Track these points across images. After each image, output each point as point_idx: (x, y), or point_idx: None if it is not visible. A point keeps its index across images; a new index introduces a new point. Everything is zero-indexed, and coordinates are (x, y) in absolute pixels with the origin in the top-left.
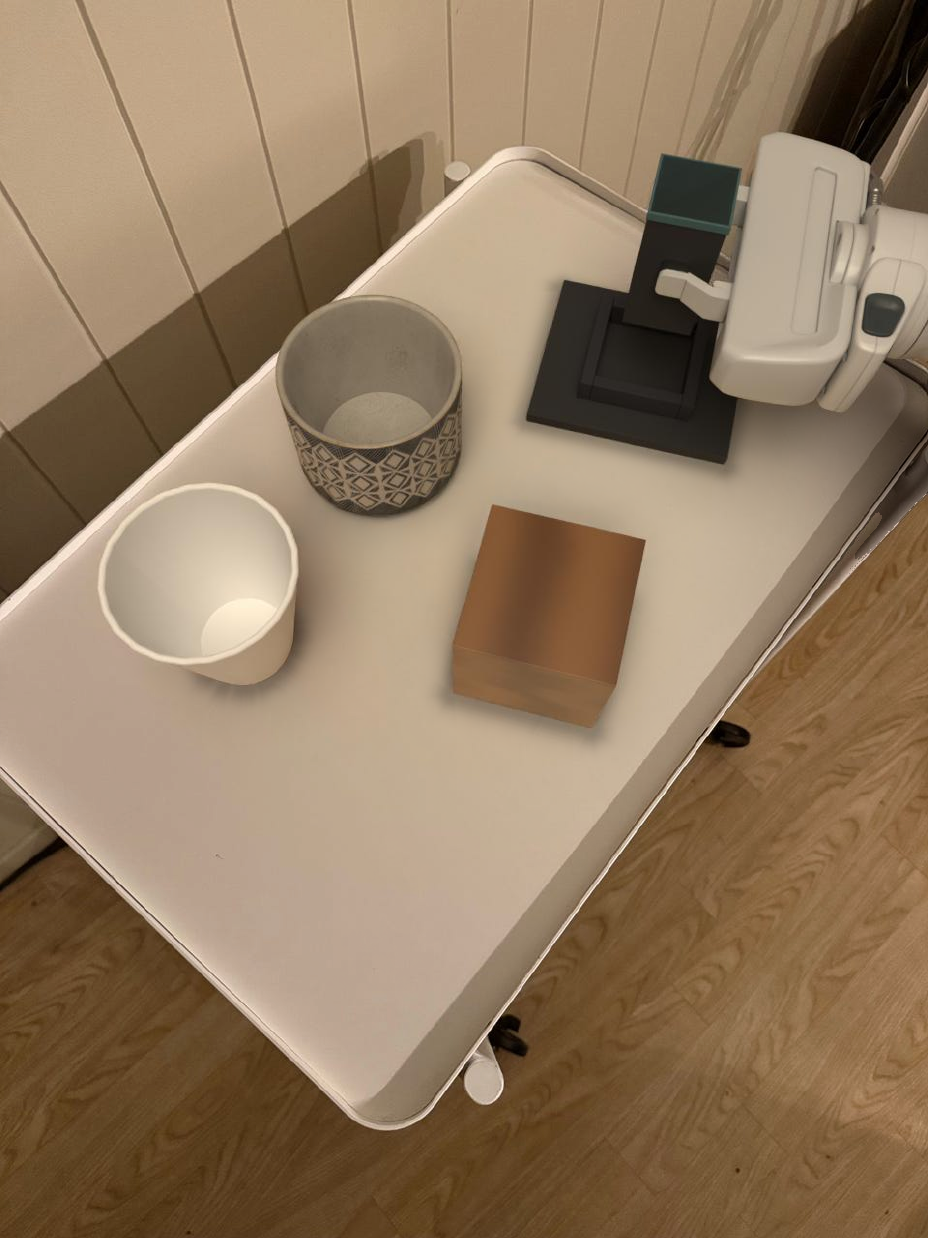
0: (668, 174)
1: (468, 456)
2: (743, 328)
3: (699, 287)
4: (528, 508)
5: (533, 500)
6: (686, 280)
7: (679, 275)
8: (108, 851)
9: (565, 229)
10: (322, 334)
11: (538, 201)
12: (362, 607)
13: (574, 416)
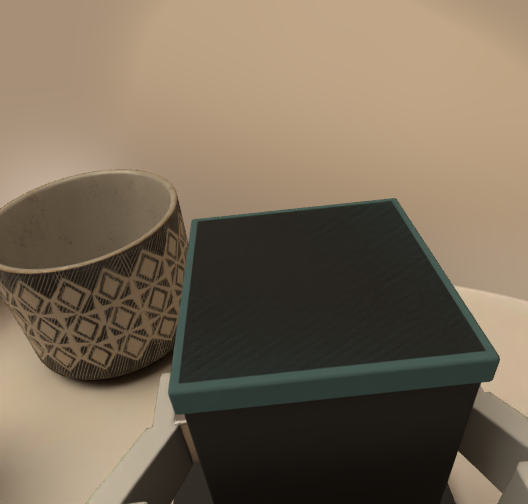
0: (331, 219)
1: (124, 393)
2: None
3: (118, 464)
4: (47, 484)
5: (59, 486)
6: (149, 428)
7: (163, 407)
8: None
9: (510, 386)
10: (146, 196)
11: (524, 345)
12: None
13: (187, 491)
